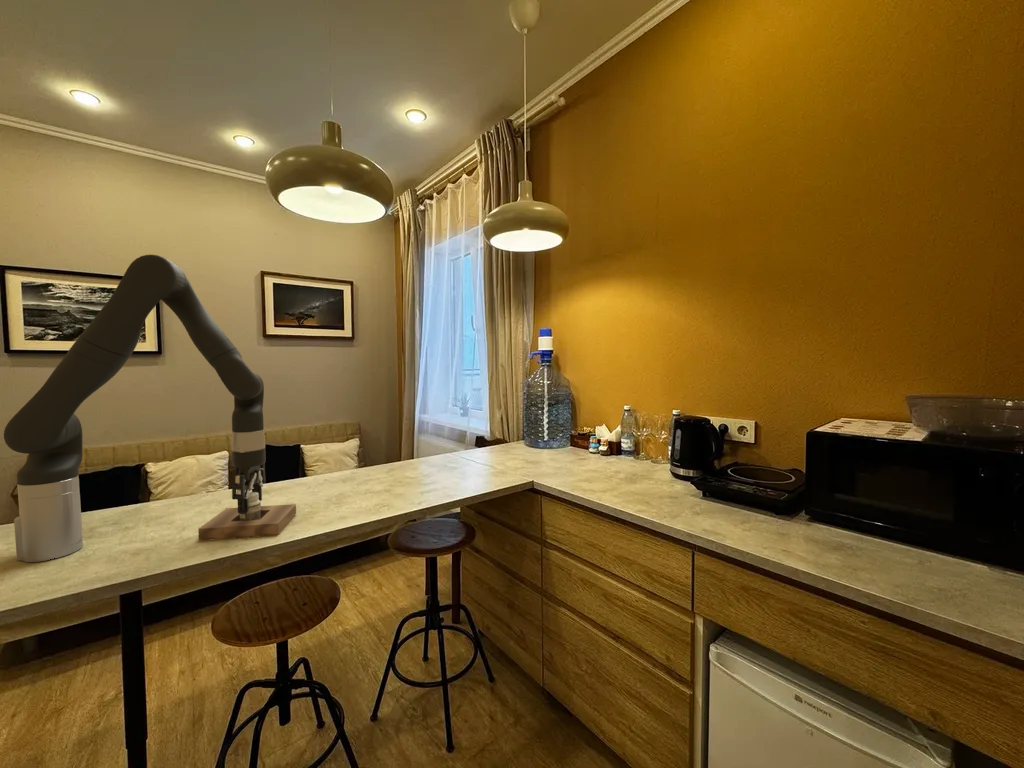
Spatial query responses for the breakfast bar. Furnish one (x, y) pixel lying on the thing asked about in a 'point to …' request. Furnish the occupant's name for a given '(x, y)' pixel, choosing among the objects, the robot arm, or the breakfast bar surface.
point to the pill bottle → (252, 508)
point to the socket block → (248, 523)
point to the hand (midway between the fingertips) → (250, 507)
